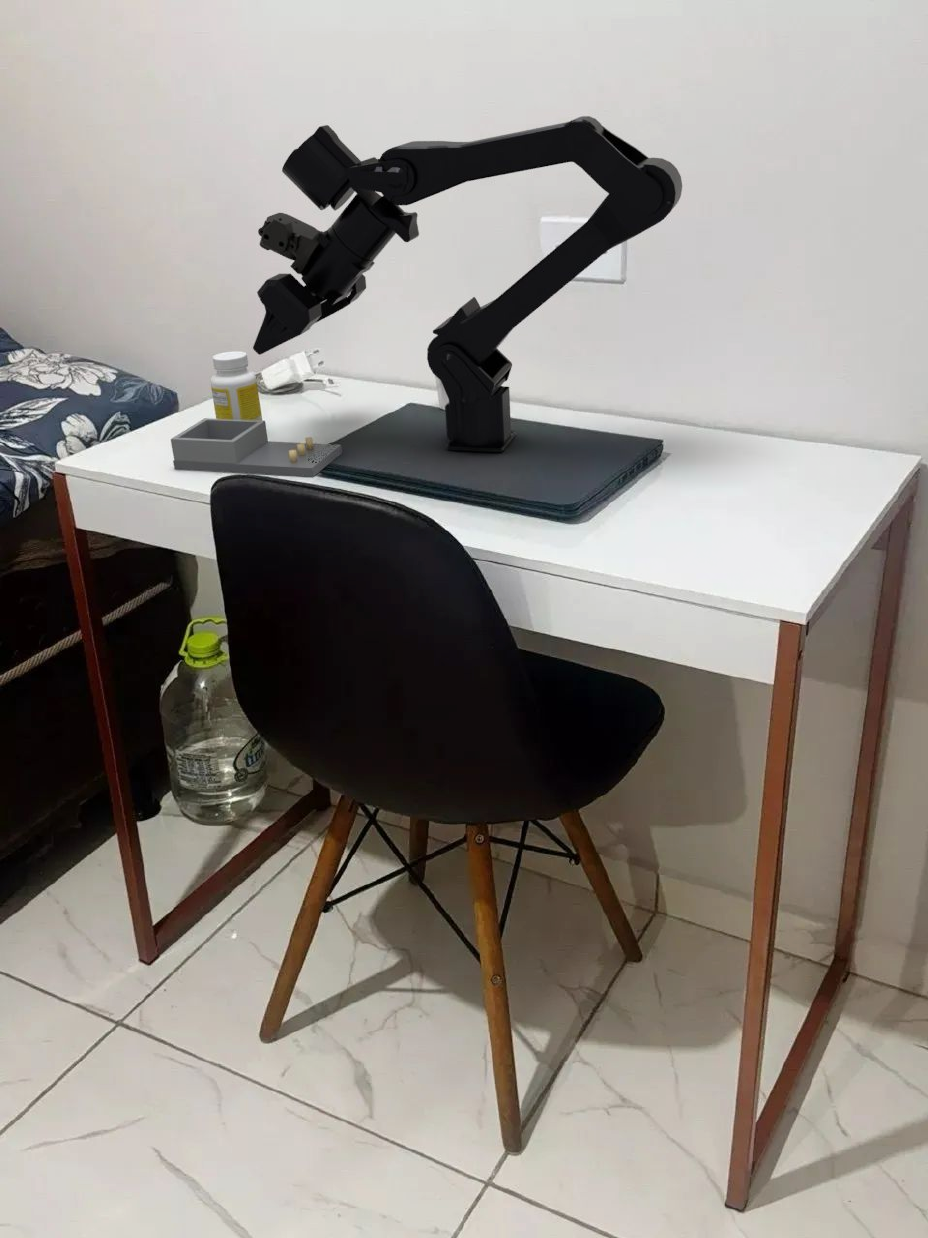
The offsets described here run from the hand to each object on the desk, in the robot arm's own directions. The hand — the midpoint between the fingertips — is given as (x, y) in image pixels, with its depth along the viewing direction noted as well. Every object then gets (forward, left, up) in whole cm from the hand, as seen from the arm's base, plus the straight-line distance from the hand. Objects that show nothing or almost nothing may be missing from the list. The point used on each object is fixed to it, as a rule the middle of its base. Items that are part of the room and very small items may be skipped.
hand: (273, 341), depth 136 cm
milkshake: (-16, -15, -12) cm, 25 cm away
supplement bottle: (+6, 0, -12) cm, 13 cm away
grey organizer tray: (-1, +9, -11) cm, 14 cm away
